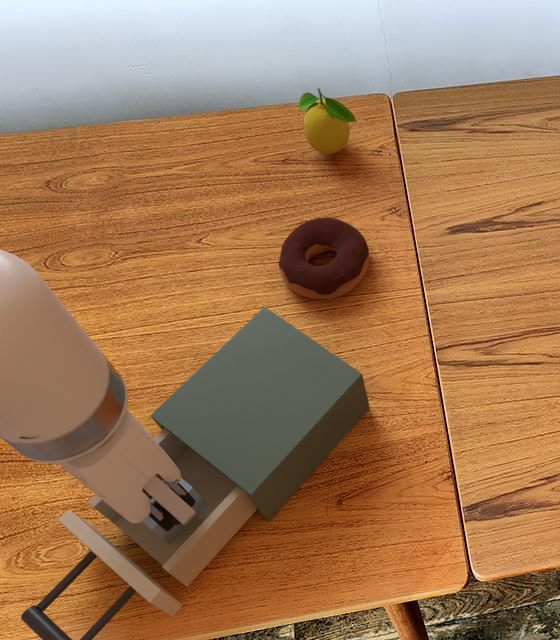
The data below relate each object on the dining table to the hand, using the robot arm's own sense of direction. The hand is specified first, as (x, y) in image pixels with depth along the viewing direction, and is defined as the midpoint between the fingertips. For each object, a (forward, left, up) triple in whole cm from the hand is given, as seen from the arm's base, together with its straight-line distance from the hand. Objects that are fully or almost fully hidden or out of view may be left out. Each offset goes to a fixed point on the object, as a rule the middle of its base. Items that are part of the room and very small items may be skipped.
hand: (154, 493), depth 64 cm
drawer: (-3, -1, -8) cm, 8 cm away
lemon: (+40, +28, -9) cm, 49 cm away
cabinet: (+12, +2, -8) cm, 15 cm away
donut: (+28, +14, -9) cm, 32 cm away
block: (0, 0, -4) cm, 4 cm away
